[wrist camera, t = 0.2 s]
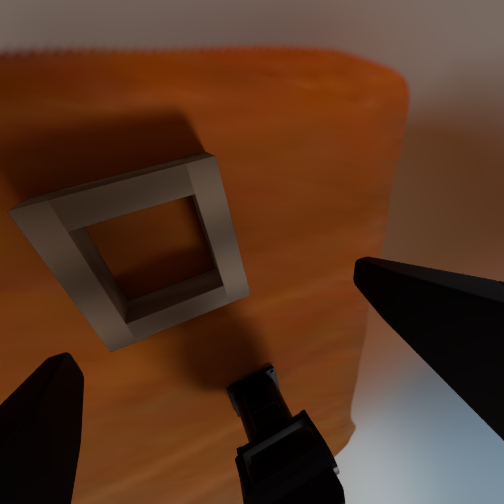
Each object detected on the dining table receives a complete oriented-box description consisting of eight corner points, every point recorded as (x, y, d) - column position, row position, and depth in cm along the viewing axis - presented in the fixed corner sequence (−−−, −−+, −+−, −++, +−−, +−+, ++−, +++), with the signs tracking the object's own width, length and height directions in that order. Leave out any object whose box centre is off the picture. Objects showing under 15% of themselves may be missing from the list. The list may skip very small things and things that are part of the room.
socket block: (239, 277, 25) (250, 294, 22) (114, 326, 22) (111, 352, 20) (205, 152, 19) (215, 155, 16) (28, 198, 16) (6, 211, 14)
